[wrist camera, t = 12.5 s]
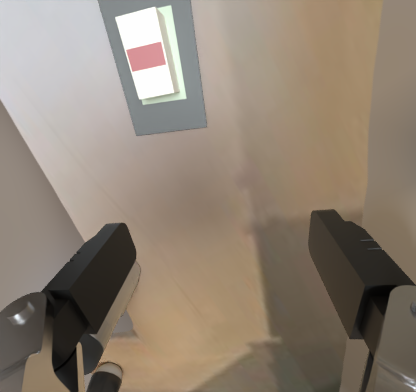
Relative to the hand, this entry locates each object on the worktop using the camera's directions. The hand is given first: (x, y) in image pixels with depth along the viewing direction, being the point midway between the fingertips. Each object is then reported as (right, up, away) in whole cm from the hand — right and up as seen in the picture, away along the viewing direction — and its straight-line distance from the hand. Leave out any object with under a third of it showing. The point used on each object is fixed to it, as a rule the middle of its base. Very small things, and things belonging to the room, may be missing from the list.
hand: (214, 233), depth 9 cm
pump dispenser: (-34, -59, +67) cm, 96 cm away
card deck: (-8, +21, +21) cm, 31 cm away
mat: (-8, +21, +21) cm, 31 cm away
